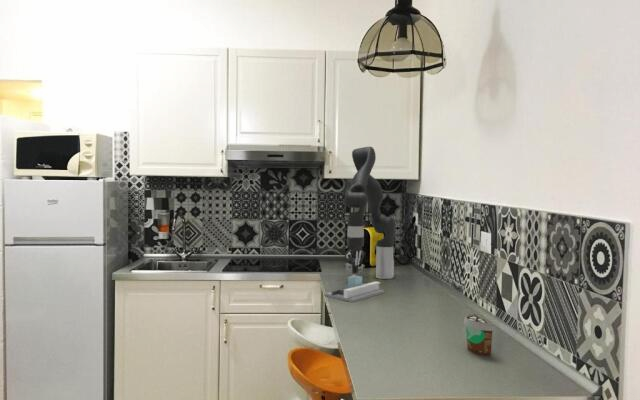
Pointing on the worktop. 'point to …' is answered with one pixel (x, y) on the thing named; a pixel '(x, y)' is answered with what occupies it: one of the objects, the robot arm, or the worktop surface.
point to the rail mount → (356, 292)
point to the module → (354, 281)
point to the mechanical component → (351, 268)
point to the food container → (478, 334)
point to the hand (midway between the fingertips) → (355, 273)
